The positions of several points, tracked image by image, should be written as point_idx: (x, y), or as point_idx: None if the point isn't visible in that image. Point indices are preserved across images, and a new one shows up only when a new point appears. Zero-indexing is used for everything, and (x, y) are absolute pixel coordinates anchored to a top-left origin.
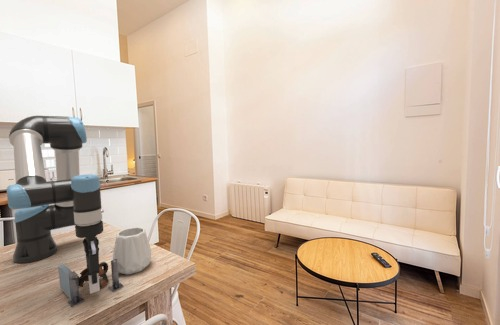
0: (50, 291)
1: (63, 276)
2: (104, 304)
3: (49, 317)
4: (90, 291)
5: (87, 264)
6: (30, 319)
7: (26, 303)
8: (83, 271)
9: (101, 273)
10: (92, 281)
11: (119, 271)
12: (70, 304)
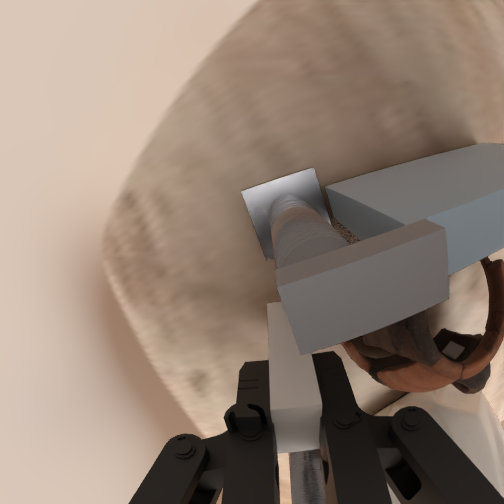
0: (477, 102)
1: (500, 165)
2: (172, 337)
3: (208, 89)
4: (268, 312)
5: (406, 448)
6: (253, 13)
7: (422, 11)
8: (499, 285)
9: (391, 387)
10: (239, 382)
11: (410, 399)
12: (266, 185)
